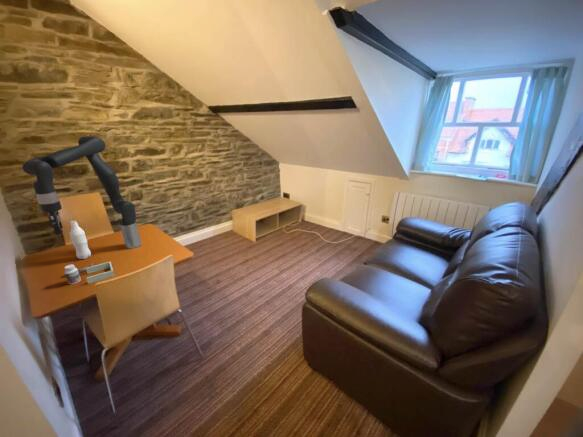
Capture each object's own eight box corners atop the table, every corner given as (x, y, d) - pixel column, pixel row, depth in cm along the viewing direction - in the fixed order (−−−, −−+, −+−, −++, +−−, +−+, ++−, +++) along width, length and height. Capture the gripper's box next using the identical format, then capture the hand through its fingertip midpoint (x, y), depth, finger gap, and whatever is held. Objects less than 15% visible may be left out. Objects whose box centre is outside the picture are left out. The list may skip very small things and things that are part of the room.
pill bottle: (67, 281, 131) (61, 266, 128) (80, 277, 135) (74, 262, 132) (69, 285, 128) (63, 270, 125) (82, 281, 132) (77, 266, 129)
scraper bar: (94, 266, 146) (92, 262, 145) (94, 271, 141) (93, 267, 140) (65, 274, 138) (64, 269, 137) (65, 279, 134) (63, 274, 133)
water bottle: (83, 260, 151) (71, 224, 142) (74, 259, 153) (62, 223, 144) (94, 255, 158) (83, 220, 149) (85, 254, 159) (74, 218, 150)
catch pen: (112, 266, 146) (110, 261, 145) (114, 275, 137) (113, 270, 136) (87, 273, 139) (85, 268, 138) (88, 283, 130) (86, 278, 129)
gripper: (58, 203, 117) (68, 233, 123) (60, 196, 127) (69, 225, 133) (36, 206, 113) (48, 237, 118) (40, 199, 123) (51, 228, 129)
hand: (59, 230), depth 126 cm, fingers open, 8 cm apart
